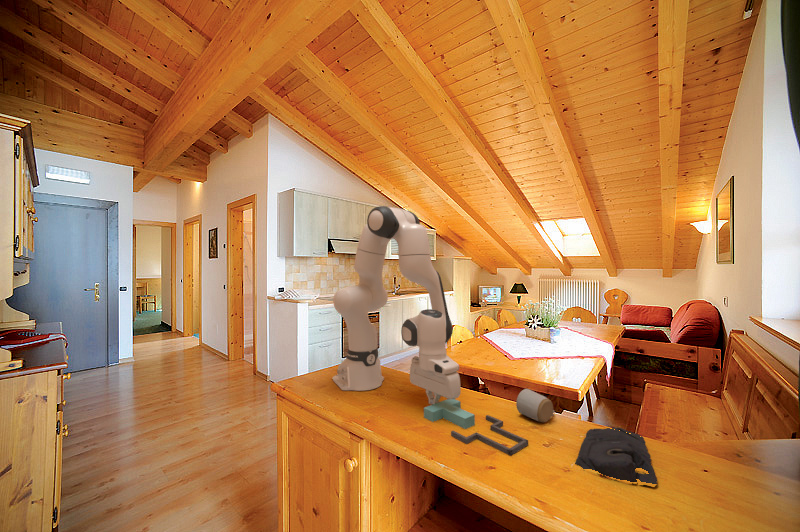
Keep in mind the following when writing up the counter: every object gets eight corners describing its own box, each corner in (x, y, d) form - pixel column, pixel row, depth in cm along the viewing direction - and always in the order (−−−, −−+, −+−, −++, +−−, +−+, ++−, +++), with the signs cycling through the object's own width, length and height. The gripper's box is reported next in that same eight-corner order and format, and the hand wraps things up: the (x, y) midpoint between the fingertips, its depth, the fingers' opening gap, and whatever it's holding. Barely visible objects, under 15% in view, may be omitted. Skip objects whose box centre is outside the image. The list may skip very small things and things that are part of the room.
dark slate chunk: (654, 446, 85) (654, 427, 85) (658, 496, 67) (657, 472, 67) (585, 430, 94) (585, 413, 94) (572, 470, 76) (572, 449, 76)
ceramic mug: (539, 427, 95) (539, 399, 95) (515, 416, 102) (515, 390, 102) (561, 418, 101) (561, 392, 101) (538, 408, 108) (537, 384, 108)
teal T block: (423, 417, 103) (423, 407, 103) (451, 406, 110) (451, 397, 110) (455, 433, 93) (455, 423, 93) (483, 420, 100) (483, 410, 100)
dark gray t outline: (451, 435, 91) (450, 431, 91) (487, 418, 101) (487, 414, 101) (500, 461, 79) (500, 456, 79) (536, 439, 88) (536, 435, 88)
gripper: (404, 356, 114) (405, 397, 114) (448, 370, 98) (449, 418, 98) (418, 353, 118) (419, 392, 118) (463, 366, 102) (464, 412, 102)
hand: (433, 404), depth 108 cm, fingers closed
